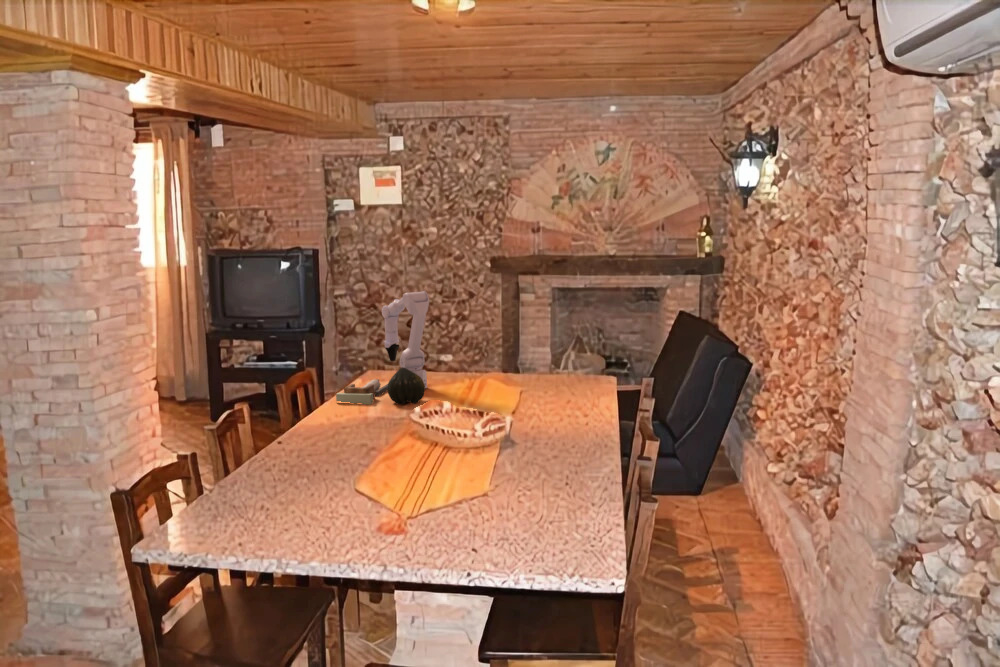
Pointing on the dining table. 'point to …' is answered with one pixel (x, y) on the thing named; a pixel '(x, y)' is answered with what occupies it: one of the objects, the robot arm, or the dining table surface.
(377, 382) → the tube
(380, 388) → the guide rails
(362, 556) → the dining table surface
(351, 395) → the wall
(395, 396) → the squash
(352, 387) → the socket block
